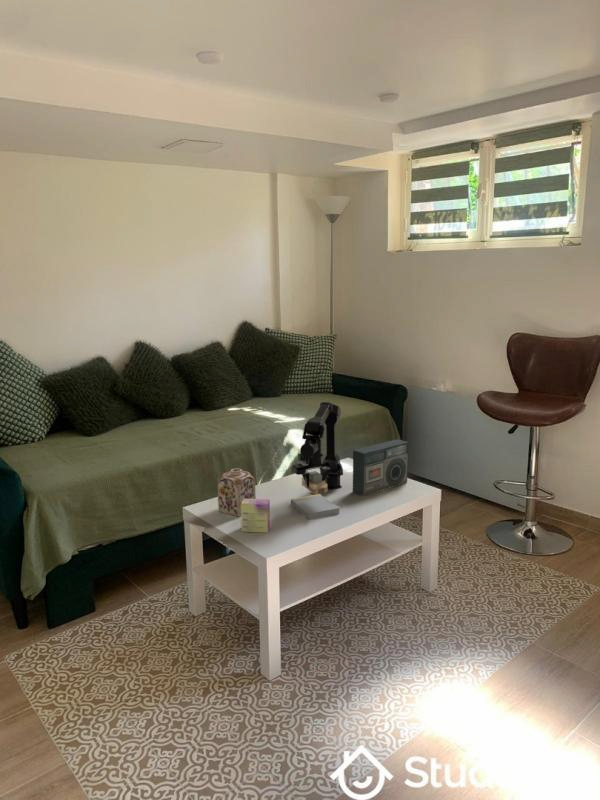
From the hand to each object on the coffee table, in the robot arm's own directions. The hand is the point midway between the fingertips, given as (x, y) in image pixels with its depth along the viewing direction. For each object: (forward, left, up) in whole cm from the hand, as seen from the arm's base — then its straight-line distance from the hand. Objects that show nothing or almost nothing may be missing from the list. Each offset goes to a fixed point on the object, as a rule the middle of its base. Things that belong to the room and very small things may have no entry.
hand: (314, 486), depth 255 cm
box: (+30, +9, -11) cm, 33 cm away
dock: (0, 0, -10) cm, 10 cm away
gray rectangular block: (0, 0, +2) cm, 2 cm away
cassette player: (-40, -11, -11) cm, 43 cm away
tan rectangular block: (0, 0, -1) cm, 1 cm away
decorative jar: (+30, -13, -11) cm, 34 cm away
